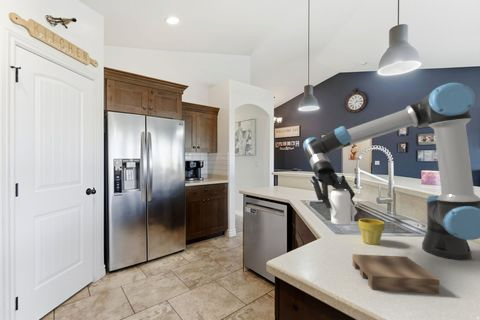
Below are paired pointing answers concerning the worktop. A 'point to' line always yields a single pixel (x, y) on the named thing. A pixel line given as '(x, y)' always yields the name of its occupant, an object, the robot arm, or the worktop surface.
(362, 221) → the plant pot
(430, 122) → the robot arm
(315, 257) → the worktop surface
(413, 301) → the worktop surface
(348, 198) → the can
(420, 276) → the platform
